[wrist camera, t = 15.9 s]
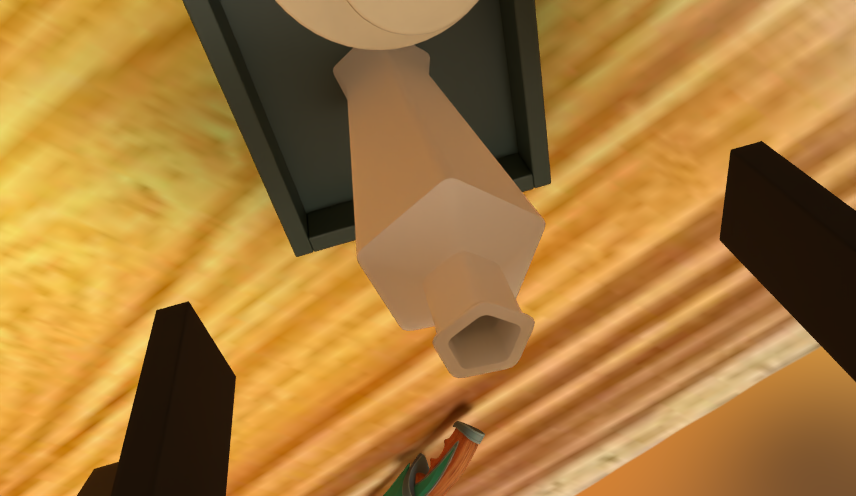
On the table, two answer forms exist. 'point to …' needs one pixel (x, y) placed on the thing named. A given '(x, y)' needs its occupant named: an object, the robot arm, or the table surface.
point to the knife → (439, 466)
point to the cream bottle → (377, 20)
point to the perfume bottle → (436, 213)
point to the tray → (328, 106)
